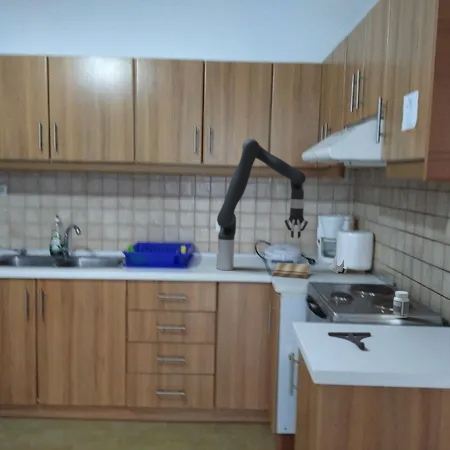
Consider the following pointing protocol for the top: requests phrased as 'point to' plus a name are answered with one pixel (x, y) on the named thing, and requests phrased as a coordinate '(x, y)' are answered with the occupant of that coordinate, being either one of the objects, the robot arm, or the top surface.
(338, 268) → the white crumpled paper
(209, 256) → the top surface
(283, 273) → the walnut plank
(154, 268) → the top surface
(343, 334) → the bracket
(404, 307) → the pill bottle
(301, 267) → the oak plank
